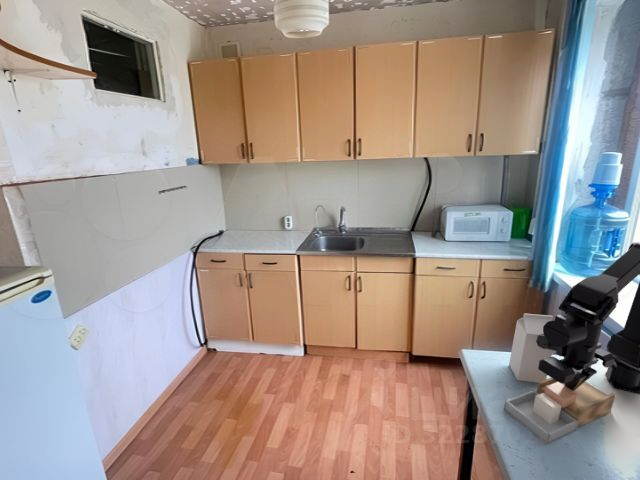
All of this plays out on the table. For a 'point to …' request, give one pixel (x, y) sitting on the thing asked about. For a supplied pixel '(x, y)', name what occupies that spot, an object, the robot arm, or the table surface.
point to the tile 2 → (560, 394)
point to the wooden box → (584, 402)
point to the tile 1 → (546, 408)
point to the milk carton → (529, 348)
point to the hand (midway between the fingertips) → (569, 391)
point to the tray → (539, 418)
